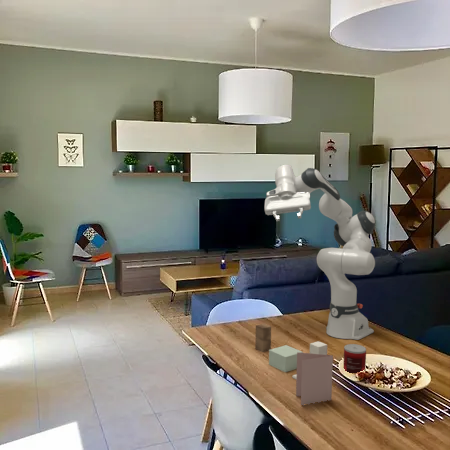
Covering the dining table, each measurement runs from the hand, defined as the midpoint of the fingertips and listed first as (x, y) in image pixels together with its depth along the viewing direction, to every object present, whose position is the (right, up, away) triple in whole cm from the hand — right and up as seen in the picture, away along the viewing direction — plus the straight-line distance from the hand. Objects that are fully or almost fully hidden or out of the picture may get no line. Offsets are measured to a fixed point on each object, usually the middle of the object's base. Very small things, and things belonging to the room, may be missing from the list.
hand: (288, 219), depth 217 cm
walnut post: (-12, -54, -9) cm, 56 cm away
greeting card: (+1, -60, -55) cm, 81 cm away
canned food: (+19, -58, -36) cm, 71 cm away
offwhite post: (+7, -57, -30) cm, 64 cm away
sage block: (-5, -56, -26) cm, 62 cm away
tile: (+3, -57, -38) cm, 69 cm away
